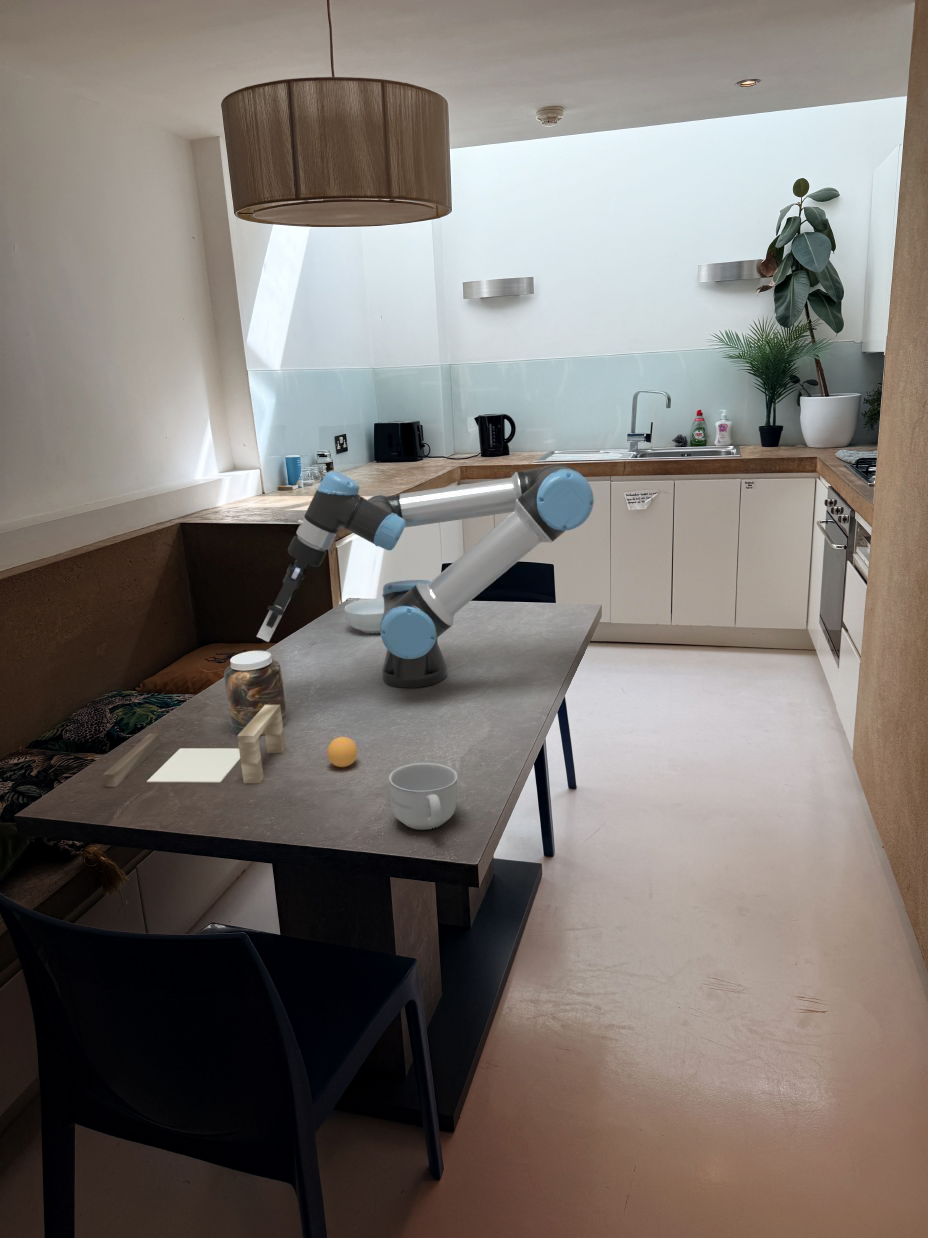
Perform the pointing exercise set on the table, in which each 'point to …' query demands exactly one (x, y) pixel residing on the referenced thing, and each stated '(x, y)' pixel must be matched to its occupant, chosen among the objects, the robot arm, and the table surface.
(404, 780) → the teacup
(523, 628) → the table surface
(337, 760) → the ball
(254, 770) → the bridge
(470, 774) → the table surface
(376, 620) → the cereal bowl
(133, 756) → the stopper
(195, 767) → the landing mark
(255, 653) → the jar
